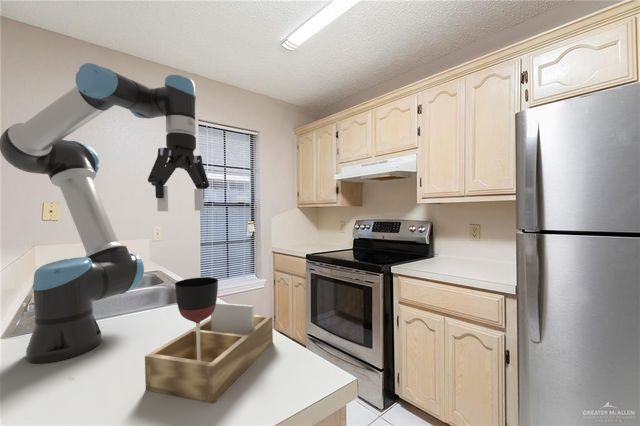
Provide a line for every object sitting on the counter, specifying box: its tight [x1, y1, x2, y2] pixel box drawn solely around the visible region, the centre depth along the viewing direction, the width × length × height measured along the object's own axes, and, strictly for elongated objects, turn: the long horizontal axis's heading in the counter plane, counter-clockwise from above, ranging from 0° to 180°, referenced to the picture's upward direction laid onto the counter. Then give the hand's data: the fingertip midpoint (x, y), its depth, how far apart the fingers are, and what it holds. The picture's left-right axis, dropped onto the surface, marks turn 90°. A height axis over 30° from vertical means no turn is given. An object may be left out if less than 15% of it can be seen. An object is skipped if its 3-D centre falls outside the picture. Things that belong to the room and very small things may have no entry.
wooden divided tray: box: [144, 314, 274, 404], centre depth 70 cm, size 16×26×7 cm, turn 164°
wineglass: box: [174, 276, 219, 361], centre depth 63 cm, size 8×9×20 cm
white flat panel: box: [210, 302, 255, 335], centre depth 76 cm, size 12×1×11 cm, turn 74°
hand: (182, 211), depth 82 cm, fingers open, 13 cm apart
